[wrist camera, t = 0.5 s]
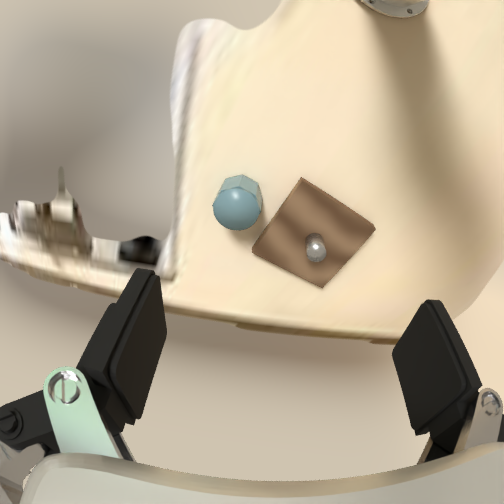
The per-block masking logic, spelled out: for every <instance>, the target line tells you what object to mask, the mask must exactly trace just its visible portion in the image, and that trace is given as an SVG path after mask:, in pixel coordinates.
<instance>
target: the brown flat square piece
mask: <svg viewBox="0 0 504 504" xmlns="http://www.w3.org/2000/svg"><path fill="white" fill-rule="evenodd" d="M375 230H376V229H375V227H374V225H373V224H372V223H371V222H369V221H368V220H366V219H365V218H363V217H362V216H360V215H359V214H358V213H356V212H355V211H353V210H352V209H350V208H349V207H347V206H346V205H344V204H343V203H341V202H340V201H338V200H337V199H335V198H333V197H332V196H330V195H329V194H327V193H326V192H324V191H323V190H321V189H319V188H318V187H316V186H315V185H313V184H311V183H310V182H308V181H307V180H305V179H303V178H302V177H301V178H300V180H299V181H298V183H297V184H296V186H295V187H294V188H293V190H292V191H291V193H290V194H289V196H288V197H287V198H286V200H285V201H284V203H283V204H282V206H281V207H280V208H279V210H278V211H277V213H276V214H275V216H274V217H273V218H272V220H271V221H270V223H269V224H268V226H267V227H266V228H265V230H264V231H263V233H262V234H261V236H260V237H259V238H258V240H257V241H256V243H255V244H254V246H253V247H252V253H254V254H256V255H258V256H260V257H262V258H264V259H266V260H268V261H270V262H272V263H274V264H276V265H278V266H280V267H282V268H284V269H286V270H288V271H290V272H292V273H294V274H296V275H298V276H299V277H301V278H303V279H305V280H307V281H309V282H311V283H313V284H315V285H317V286H319V287H321V288H323V287H324V286H325V285H326V283H327V282H328V281H329V280H330V279H331V278H332V277H333V276H334V275H335V274H336V273H337V272H338V271H339V270H340V269H341V268H342V266H343V265H344V264H345V263H346V262H347V261H348V260H349V259H350V258H351V257H352V256H353V254H354V253H355V252H356V251H357V250H358V249H359V248H360V247H361V246H362V244H363V243H364V242H365V241H366V240H367V239H368V238H369V237H370V235H371V234H372V233H373V232H374V231H375ZM311 233H318V234H320V235H321V236H322V237H323V241H324V245H325V249H326V257H325V258H324V259H323V260H322V261H319V262H313V261H311V260H309V259H308V257H307V251H306V244H305V239H306V237H307V236H308V235H309V234H311Z"/></svg>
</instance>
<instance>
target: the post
mask: <svg viewBox="0 0 504 504" xmlns="http://www.w3.org/2000/svg"><path fill="white" fill-rule="evenodd" d="M305 244H306V251H307V257H308V259H309V260H311V261H313V262H319V261H322V260H323V259H324V258H325V257H326V249H325V245H324V241H323V237H322V236H321V235H320V234H318V233H311V234H309V235H308V236H307V237H306V239H305Z"/></svg>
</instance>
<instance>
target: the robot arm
mask: <svg viewBox="0 0 504 504" xmlns="http://www.w3.org/2000/svg"><path fill="white" fill-rule="evenodd" d="M360 1H361V2H363V3H364V4H365V5H367V6H368V7H369V8H371V9H373V10H375V11H377V12H379V13H381V14H384V15H387V16H391V17H396V18H408V17H412V16H415V15H417V14H420V13H421V12H422V11H423V10H424V9H425V8H426V7H427V5H428V2H429V0H360ZM369 1H371V3H370V2H369ZM407 11H408V12H407ZM166 335H167V328H166V321H165V314H164V307H163V299H162V291H161V283H160V277H159V276H158V275H155V272H154V271H153V270H147V269H141V268H137V269H136V270H135V272H134V273H133V275H132V277H131V278H130V280H129V282H128V283H127V285H126V287H125V289H124V290H123V292H122V294H121V296H120V298H119V299H118V301H117V303H112V304H110V305H109V307H108V308H107V310H106V311H105V313H104V315H103V317H102V319H101V320H100V322H99V324H98V326H97V328H96V330H95V332H94V334H93V335H92V337H91V339H90V341H89V343H88V345H87V347H86V349H85V351H84V353H83V355H82V357H81V359H80V361H79V363H78V365H77V367H76V369H75V368H73V367H67V366H65V367H60V368H57V369H55V370H53V371H52V372H51V373H50V374H49V375H48V376H47V378H46V380H45V382H44V386H43V390H41V391H38V392H36V393H33V394H31V395H28V396H26V397H23V398H21V399H18V400H16V401H13V402H10V403H8V404H5V405H3V406H2V407H0V504H504V414H502V413H503V404H502V400H501V398H500V396H499V395H498V394H497V392H495V391H494V390H493V389H490V388H485V389H482V390H481V391H480V392H478V389H479V388H480V387H481V386H482V383H481V381H480V378H479V376H478V373H477V371H476V369H475V367H474V364H473V362H472V360H471V358H470V356H469V353H468V351H467V349H466V347H465V345H464V343H463V341H462V339H461V337H460V335H459V333H458V331H457V329H456V328H455V325H454V324H453V321H452V320H451V318H450V316H449V314H448V312H447V310H446V309H445V307H444V305H443V303H442V302H441V301H440V300H426V301H425V302H424V303H423V304H421V306H420V307H419V309H418V311H417V312H416V314H415V316H414V317H413V319H412V321H411V322H410V324H409V326H408V327H407V329H406V330H405V332H404V333H403V335H402V337H401V338H400V340H399V341H398V343H397V344H396V346H395V347H394V349H393V352H392V357H393V361H394V364H395V367H396V371H397V374H398V377H399V381H400V385H401V388H402V391H403V395H404V399H405V403H406V407H407V411H408V415H409V419H410V423H411V427H412V428H413V429H414V430H415V435H416V436H417V435H422V434H426V433H428V432H430V437H429V440H428V442H427V444H426V446H425V449H424V451H423V453H422V455H421V457H420V459H419V461H418V463H417V465H414V466H410V467H406V468H402V469H397V470H393V471H387V472H382V473H377V474H371V475H365V476H357V477H350V478H341V479H330V480H317V481H251V480H238V479H227V478H218V477H211V476H203V475H197V474H190V473H184V472H178V471H173V470H168V469H163V468H159V467H154V466H150V465H145V464H141V463H137V462H136V460H135V459H134V457H133V455H132V453H131V451H130V449H129V447H128V446H127V444H126V442H125V440H124V438H123V436H122V434H121V432H122V431H123V429H124V426H125V423H127V424H131V425H134V423H135V420H136V419H140V418H141V416H142V414H143V410H144V407H145V403H146V400H147V397H148V393H149V390H150V386H151V383H152V380H153V377H154V374H155V371H156V367H157V364H158V361H159V358H160V355H161V352H162V348H163V345H164V342H165V340H166ZM35 465H36V466H35ZM34 466H35V467H34ZM33 467H34V469H33V470H32V472H30V469H31V468H33ZM30 473H31V474H30ZM28 474H30V476H29V478H28V480H27V483H26V485H25V488H24V491H23V488H22V485H23V480H24V479H25V477H26V476H27V475H28Z"/></svg>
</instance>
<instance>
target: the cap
mask: <svg viewBox="0 0 504 504" xmlns="http://www.w3.org/2000/svg"><path fill="white" fill-rule="evenodd" d="M212 206H213V211H214V215H215V217H216V219H217V221H218V222H219V223H220V224H221V225H223V226H224V227H226V228H228V229H231V230H244V229H247V228H249V227H250V226H252V225H253V224H254V223H255V222H256V220H257V218H258V215H259V214H260V212H261V206H262V196H261V192H260V189H259V185H258V183H257V182H255V181H253V180H252V179H250V178H248V177H246V176H244V175H239V176H235V177H231V178H227V179H225V181H224V183H223V185H222V187H221V188H220V190H219V192H218V194H217V196H216V198H215V201H214V203H213V205H212Z"/></svg>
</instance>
